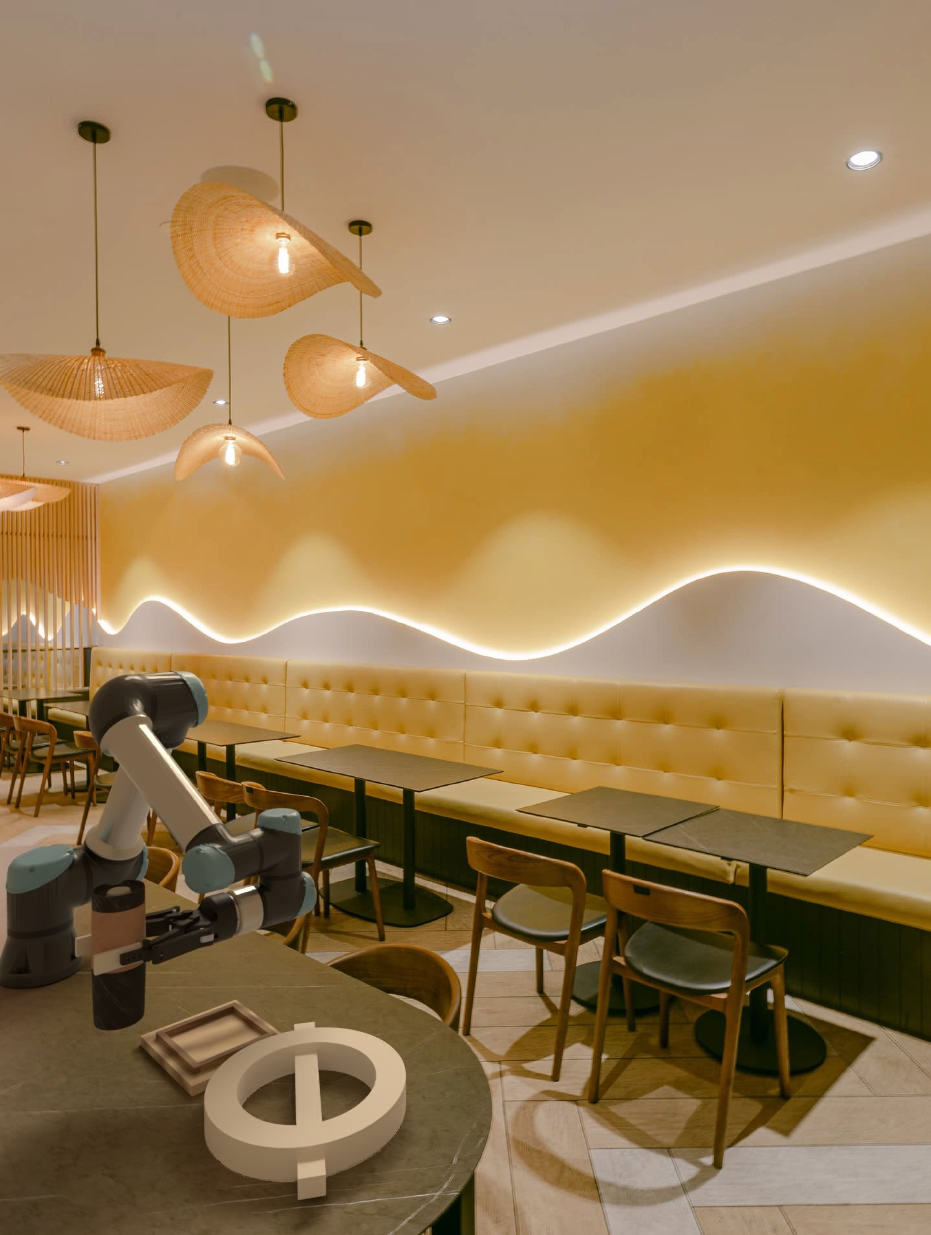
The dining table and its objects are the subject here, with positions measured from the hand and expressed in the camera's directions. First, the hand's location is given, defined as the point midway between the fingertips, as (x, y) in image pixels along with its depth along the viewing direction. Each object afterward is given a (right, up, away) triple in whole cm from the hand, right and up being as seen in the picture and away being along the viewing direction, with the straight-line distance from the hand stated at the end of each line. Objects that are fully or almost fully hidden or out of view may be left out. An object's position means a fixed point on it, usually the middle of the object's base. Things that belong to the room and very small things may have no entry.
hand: (85, 956), depth 115 cm
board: (+16, -20, +12) cm, 28 cm away
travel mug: (+4, -11, +3) cm, 12 cm away
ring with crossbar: (+34, -21, -4) cm, 40 cm away
